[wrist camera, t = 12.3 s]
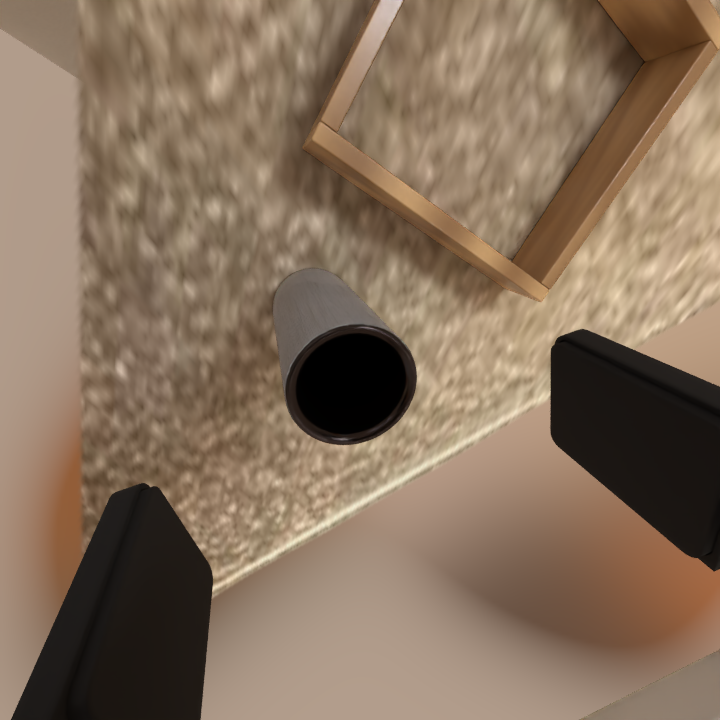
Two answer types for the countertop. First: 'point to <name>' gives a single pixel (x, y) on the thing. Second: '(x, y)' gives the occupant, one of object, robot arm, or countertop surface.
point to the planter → (339, 360)
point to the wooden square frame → (590, 175)
